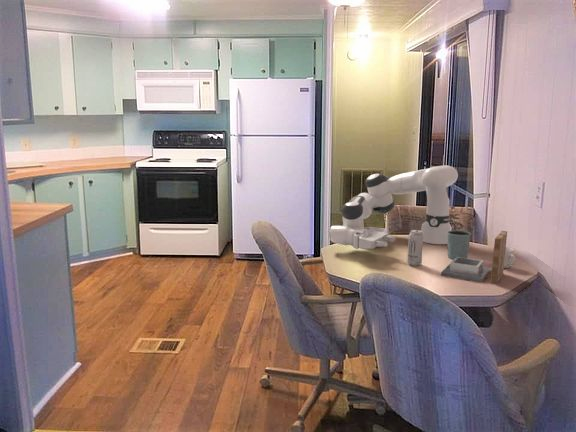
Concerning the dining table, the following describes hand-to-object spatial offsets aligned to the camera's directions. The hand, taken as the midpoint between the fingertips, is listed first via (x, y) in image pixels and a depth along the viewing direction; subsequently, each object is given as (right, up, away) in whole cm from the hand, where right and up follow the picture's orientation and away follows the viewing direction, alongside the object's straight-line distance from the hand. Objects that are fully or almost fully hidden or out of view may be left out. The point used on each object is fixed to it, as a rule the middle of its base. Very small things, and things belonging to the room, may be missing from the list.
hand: (390, 242), depth 229 cm
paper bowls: (-4, -3, +29) cm, 30 cm away
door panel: (+39, -13, -21) cm, 46 cm away
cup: (+48, -11, -6) cm, 49 cm away
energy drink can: (+9, -10, -4) cm, 14 cm away
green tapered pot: (+32, -8, +8) cm, 34 cm away
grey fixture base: (+28, -12, -15) cm, 34 cm away
